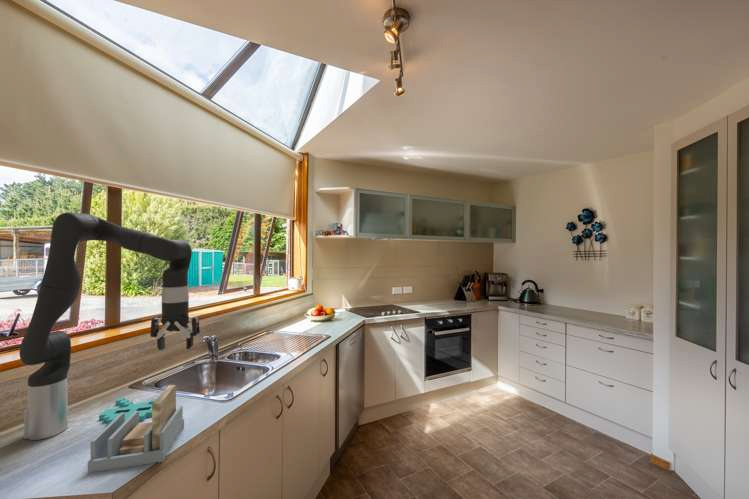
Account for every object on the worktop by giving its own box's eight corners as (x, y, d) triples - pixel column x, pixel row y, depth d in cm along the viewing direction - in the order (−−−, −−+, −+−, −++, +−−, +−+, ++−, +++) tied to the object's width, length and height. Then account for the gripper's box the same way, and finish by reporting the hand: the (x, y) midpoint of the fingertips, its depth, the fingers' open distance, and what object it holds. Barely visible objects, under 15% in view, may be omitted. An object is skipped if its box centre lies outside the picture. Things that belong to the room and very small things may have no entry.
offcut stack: (118, 462, 91) (118, 444, 91) (139, 438, 103) (139, 421, 103) (143, 459, 92) (143, 441, 92) (161, 435, 104) (161, 419, 104)
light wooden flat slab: (152, 458, 92) (151, 404, 92) (169, 433, 105) (169, 385, 105) (160, 457, 93) (159, 403, 93) (176, 432, 105) (175, 384, 105)
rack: (87, 472, 86) (87, 443, 86) (122, 435, 104) (122, 411, 104) (162, 461, 91) (162, 434, 91) (184, 427, 108) (184, 404, 108)
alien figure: (118, 403, 126) (87, 432, 106) (118, 398, 126) (87, 425, 106) (175, 397, 131) (155, 423, 112) (175, 392, 131) (155, 417, 112)
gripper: (145, 302, 100) (145, 353, 100) (192, 301, 101) (192, 352, 101) (159, 298, 107) (159, 346, 107) (203, 297, 108) (203, 344, 108)
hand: (175, 349), depth 104 cm, fingers open, 8 cm apart
